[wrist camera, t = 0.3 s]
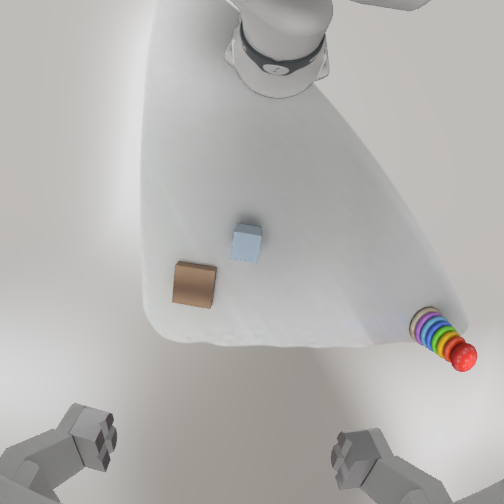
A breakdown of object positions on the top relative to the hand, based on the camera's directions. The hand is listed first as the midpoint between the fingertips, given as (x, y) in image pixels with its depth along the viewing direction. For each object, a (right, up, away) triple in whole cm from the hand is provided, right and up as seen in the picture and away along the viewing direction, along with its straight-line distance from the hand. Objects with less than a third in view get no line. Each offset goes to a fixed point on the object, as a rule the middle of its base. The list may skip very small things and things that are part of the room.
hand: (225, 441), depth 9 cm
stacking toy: (+38, -9, +49) cm, 63 cm away
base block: (-9, +1, +48) cm, 49 cm away
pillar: (0, +9, +46) cm, 47 cm away
